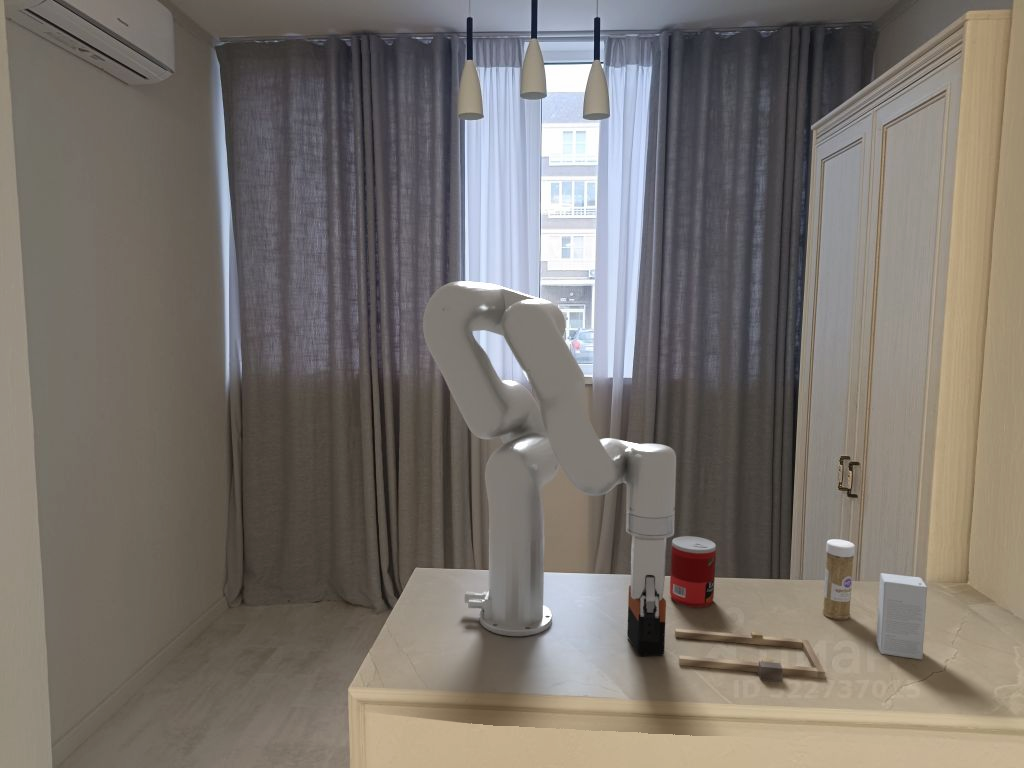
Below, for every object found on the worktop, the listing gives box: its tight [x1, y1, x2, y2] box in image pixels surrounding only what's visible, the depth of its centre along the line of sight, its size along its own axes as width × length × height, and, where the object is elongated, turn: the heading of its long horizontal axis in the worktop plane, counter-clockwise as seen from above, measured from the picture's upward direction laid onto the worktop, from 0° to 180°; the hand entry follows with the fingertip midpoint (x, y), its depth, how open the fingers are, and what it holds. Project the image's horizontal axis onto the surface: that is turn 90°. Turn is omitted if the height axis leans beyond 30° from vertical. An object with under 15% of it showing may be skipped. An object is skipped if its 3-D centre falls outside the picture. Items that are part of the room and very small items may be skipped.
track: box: [674, 628, 826, 682], centre depth 107 cm, size 21×12×2 cm, turn 80°
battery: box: [627, 584, 667, 657], centre depth 110 cm, size 4×7×10 cm, turn 6°
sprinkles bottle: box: [822, 538, 856, 621], centre depth 122 cm, size 5×5×13 cm
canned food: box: [669, 535, 717, 608], centre depth 128 cm, size 8×8×11 cm
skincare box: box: [876, 572, 928, 660], centre depth 110 cm, size 6×4×12 cm
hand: (647, 626), depth 110 cm, fingers open, 9 cm apart
